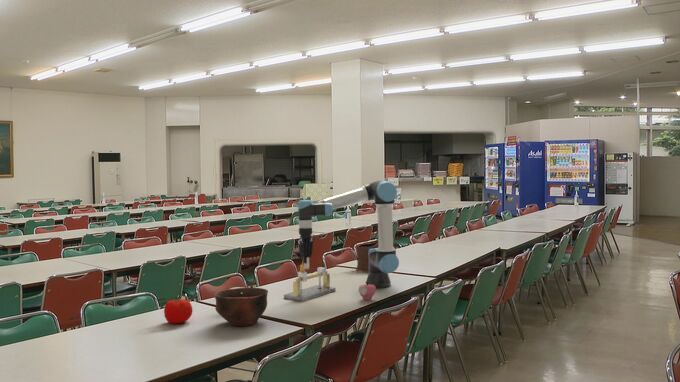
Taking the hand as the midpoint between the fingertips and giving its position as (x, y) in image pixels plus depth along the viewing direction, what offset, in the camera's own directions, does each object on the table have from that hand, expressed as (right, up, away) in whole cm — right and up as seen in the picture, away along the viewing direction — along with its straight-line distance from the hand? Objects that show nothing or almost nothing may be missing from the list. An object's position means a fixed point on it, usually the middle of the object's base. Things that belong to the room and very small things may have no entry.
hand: (306, 268), depth 311 cm
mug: (-33, -18, -23) cm, 44 cm away
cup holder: (+37, -12, +82) cm, 90 cm away
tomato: (-59, -19, -48) cm, 78 cm away
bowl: (-28, -19, -51) cm, 61 cm away
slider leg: (-2, -14, -2) cm, 14 cm away
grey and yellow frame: (+2, -16, +6) cm, 17 cm away
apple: (+34, -16, -10) cm, 39 cm away
